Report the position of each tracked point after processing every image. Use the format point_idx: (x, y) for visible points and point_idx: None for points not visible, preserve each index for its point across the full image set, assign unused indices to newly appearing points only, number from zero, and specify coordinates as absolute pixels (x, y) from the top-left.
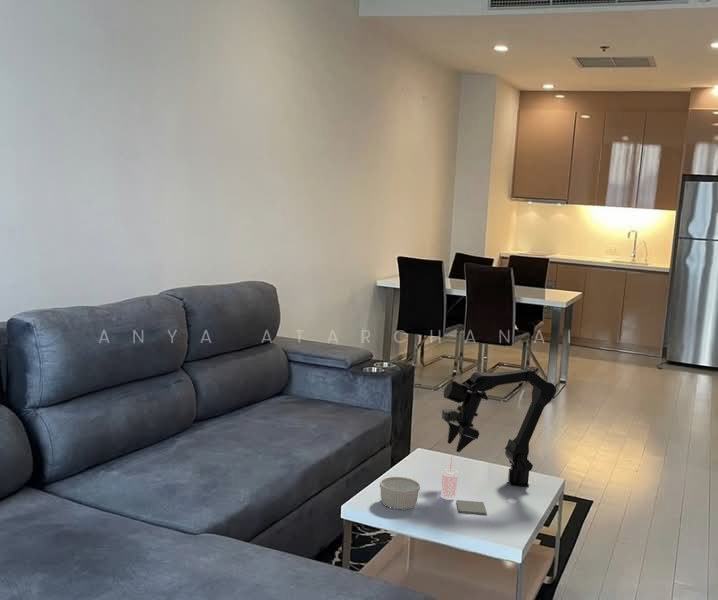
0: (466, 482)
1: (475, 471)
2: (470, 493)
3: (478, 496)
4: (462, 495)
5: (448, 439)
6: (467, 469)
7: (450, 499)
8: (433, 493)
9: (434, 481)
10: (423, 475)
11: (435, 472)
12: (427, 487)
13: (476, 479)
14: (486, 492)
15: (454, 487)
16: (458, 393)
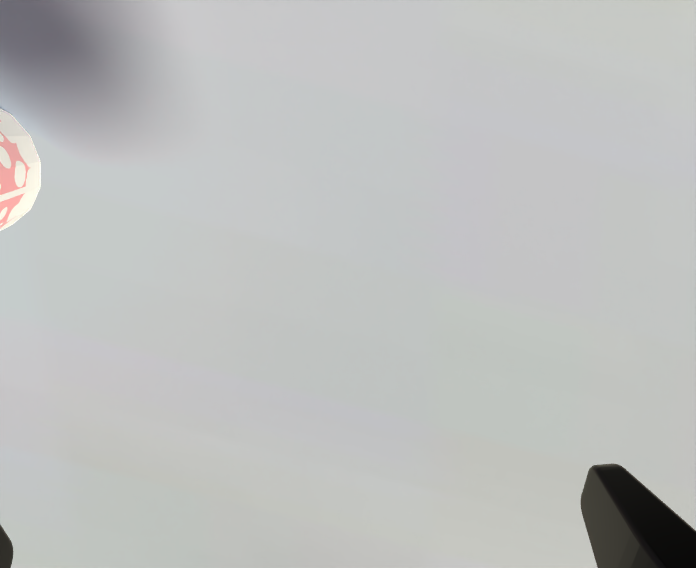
0: (365, 430)
1: None
2: (103, 397)
3: (42, 445)
4: (43, 315)
5: (636, 529)
6: None
7: None
8: (52, 31)
9: (389, 133)
10: (562, 53)
11: (632, 208)
12: (217, 6)
13: (435, 526)
14: (143, 529)
15: None
16: None
